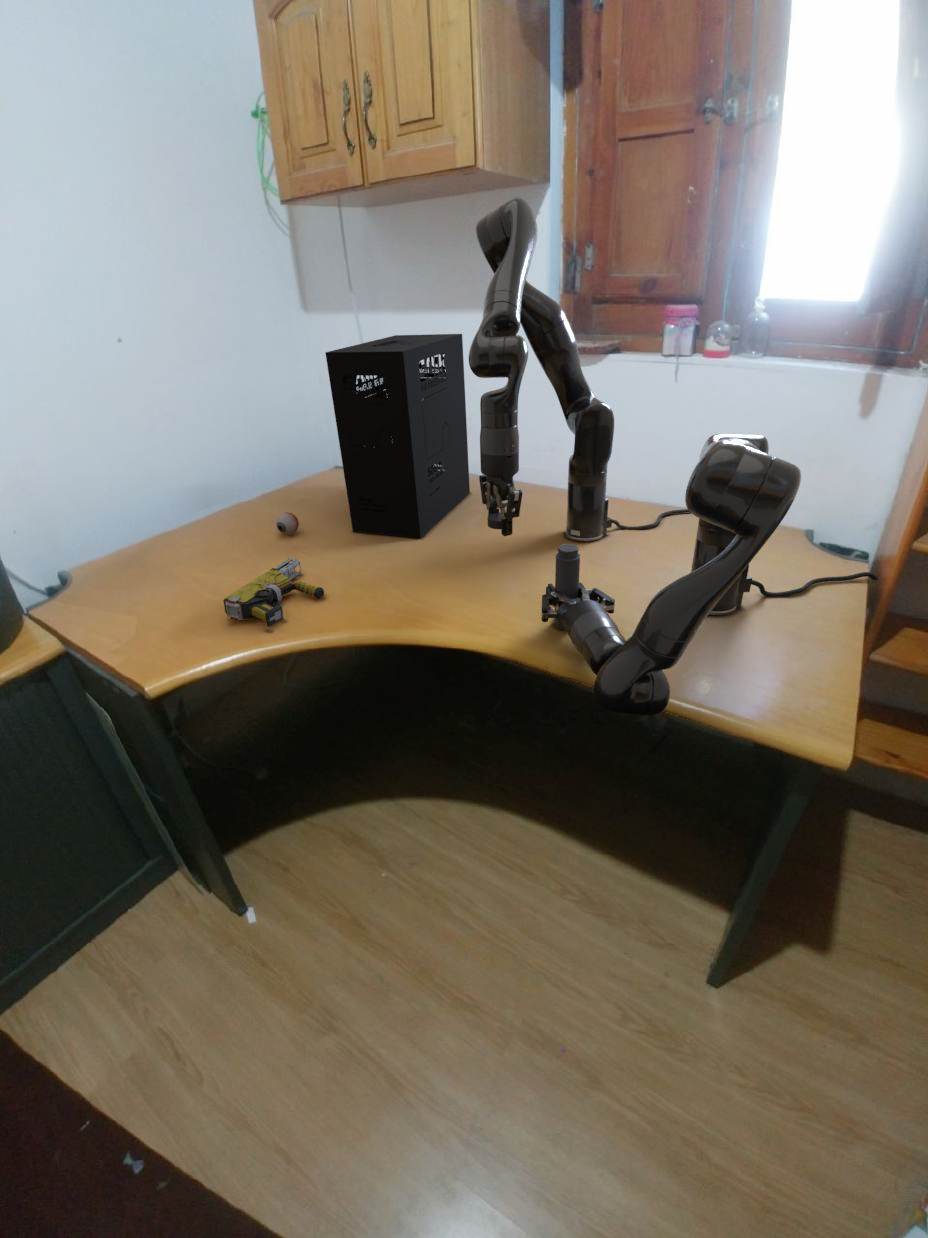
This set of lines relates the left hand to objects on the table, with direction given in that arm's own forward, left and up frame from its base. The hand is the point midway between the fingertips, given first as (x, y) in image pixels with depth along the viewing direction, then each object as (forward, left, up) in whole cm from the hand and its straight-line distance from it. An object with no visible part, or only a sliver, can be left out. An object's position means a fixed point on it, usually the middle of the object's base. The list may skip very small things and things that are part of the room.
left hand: (500, 530), depth 125 cm
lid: (0, 0, +3) cm, 3 cm away
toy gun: (+44, -15, -13) cm, 48 cm away
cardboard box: (+2, -55, -13) cm, 57 cm away
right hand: (-5, +18, -6) cm, 19 cm away
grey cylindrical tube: (-4, +20, -13) cm, 24 cm away
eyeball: (+38, -55, -13) cm, 68 cm away
